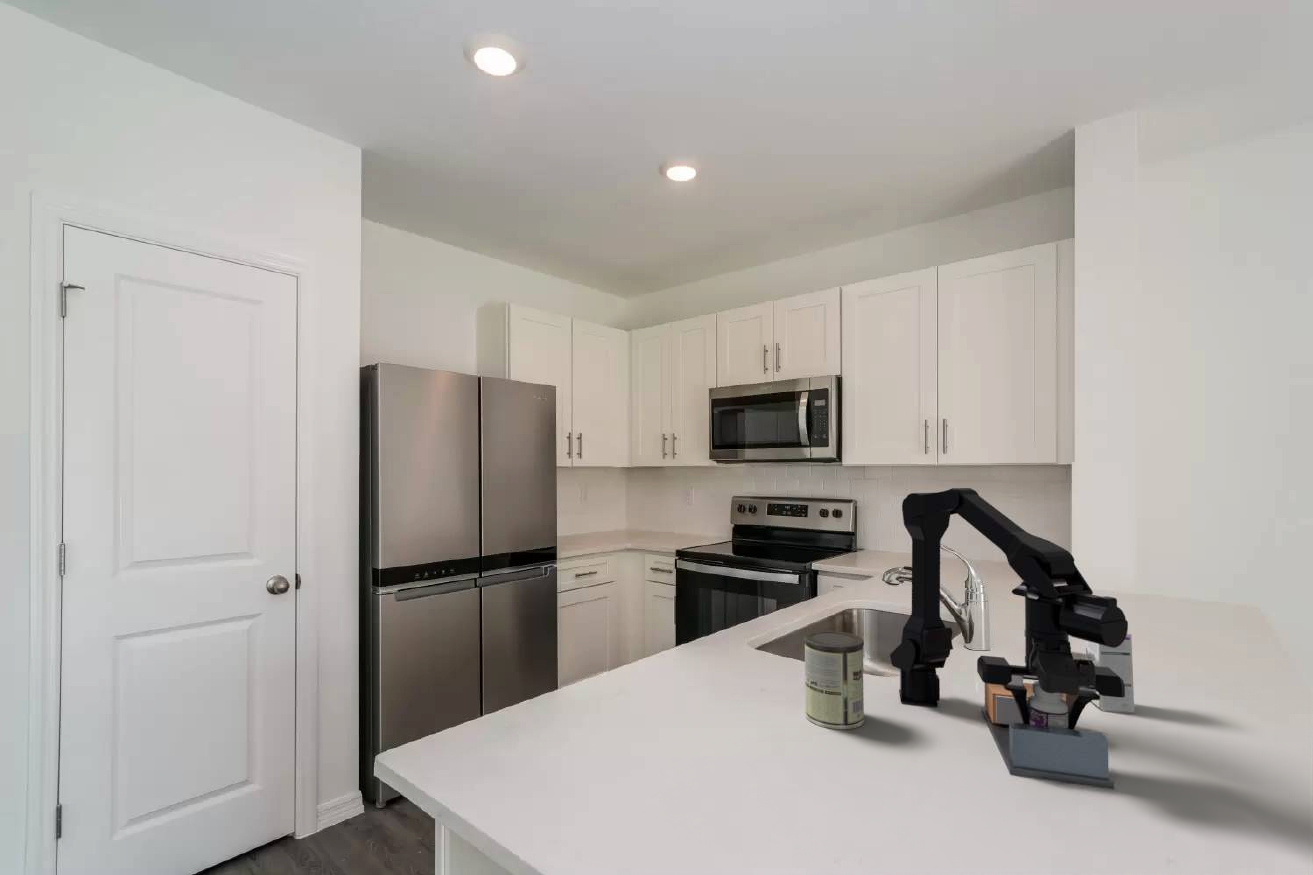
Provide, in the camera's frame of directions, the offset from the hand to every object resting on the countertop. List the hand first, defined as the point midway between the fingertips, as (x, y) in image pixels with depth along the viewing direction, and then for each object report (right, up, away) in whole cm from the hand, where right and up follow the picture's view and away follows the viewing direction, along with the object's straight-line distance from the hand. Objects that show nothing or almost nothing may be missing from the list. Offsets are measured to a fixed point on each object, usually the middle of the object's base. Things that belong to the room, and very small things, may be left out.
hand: (1047, 731), depth 98 cm
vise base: (+2, -5, +5) cm, 7 cm away
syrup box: (+25, -6, +22) cm, 33 cm away
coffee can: (-28, -5, +16) cm, 33 cm away
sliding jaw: (+4, -4, +12) cm, 13 cm away
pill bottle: (0, -3, 0) cm, 3 cm away
